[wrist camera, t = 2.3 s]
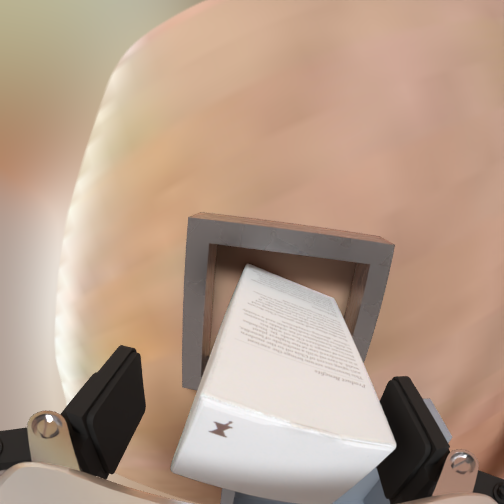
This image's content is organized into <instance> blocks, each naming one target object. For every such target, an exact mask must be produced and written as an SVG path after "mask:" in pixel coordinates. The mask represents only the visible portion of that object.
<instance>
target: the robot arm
mask: <svg viewBox="0 0 504 504" xmlns="http://www.w3.org/2000/svg"><path fill="white" fill-rule="evenodd" d="M380 404H381V406H382V409H383V411H384V414H385V416H386V418H387V421H388V424H389V426H390V429H391V431H392V434H393V436H394V439H395V442H396V449H395V450H394V451H393V452H392V453H390V454H389V455H388V456H387V457H386V458H385V459H384V460H383V461H382V462H381V463H380V464H378V465H377V466H376V468H377V471H378V475H379V478H380V481H381V485H382V488H383V492H384V495H385V498H386V499H389V501H390V504H504V480H503V479H500V478H498V477H495V476H492V475H490V474H487V473H484V472H482V471H479V470H478V469H479V463H478V460H477V458H476V457H475V455H474V454H472V453H471V452H469V451H467V450H463V449H457V450H454V451H452V452H451V453H450V451H449V447H450V446H449V444H448V442H447V440H446V438H445V437H444V435H443V433H442V431H441V430H440V428H439V426H438V424H437V423H436V421H435V419H434V417H433V416H432V414H431V412H430V411H429V409H428V407H427V406H426V404H425V402H424V401H423V399H422V397H421V396H420V394H419V392H418V391H417V389H416V387H415V386H414V384H413V383H412V381H411V379H410V378H409V377H408V376H400V377H394V378H393V379H392V380H390V381H389V382H388V384H387V386H386V388H385V391H384V393H383V395H382V397H381V400H380ZM145 408H146V404H145V396H144V387H143V378H142V368H141V357H140V354H139V353H137V352H136V349H135V348H131V347H127V346H123V345H120V346H119V347H118V348H117V350H116V351H115V352H114V353H113V354H112V356H111V357H110V358H109V359H108V360H107V362H106V363H105V364H104V365H103V366H102V368H101V369H100V370H99V371H98V372H97V373H94V374H93V375H92V376H91V377H90V378H89V380H88V381H87V382H86V383H85V384H84V386H83V387H82V388H81V389H80V391H79V392H78V393H77V394H76V395H75V397H74V398H73V399H72V400H71V402H70V403H69V404H68V405H67V407H66V408H65V409H64V411H63V412H62V413H61V414H58V413H56V412H53V411H41V412H37V413H36V414H34V415H33V416H32V417H31V418H30V419H29V421H28V424H27V428H21V429H13V430H6V431H0V504H193V503H188V502H183V501H178V500H174V499H169V498H165V497H161V496H157V495H154V494H150V493H146V492H142V491H139V490H136V489H132V488H129V487H126V486H123V485H120V484H117V483H114V482H111V481H108V480H105V479H107V477H108V475H109V473H110V474H113V473H114V472H115V471H116V468H117V466H118V464H119V462H120V460H121V458H122V456H123V454H124V452H125V450H126V448H127V446H128V444H129V442H130V440H131V438H132V436H133V434H134V432H135V430H136V428H137V426H138V424H139V422H140V420H141V418H142V416H143V414H144V412H145ZM96 476H98V477H96ZM99 477H100V478H99ZM102 478H103V479H102Z"/></svg>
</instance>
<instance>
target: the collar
mask: <svg viewBox="0 0 504 504" xmlns="http://www.w3.org/2000/svg"><path fill="white" fill-rule="evenodd" d="M217 244H219V245H227V246H235V247H243V248H250V249H258V250H266V251H273V252H281V253H289V254H296V255H304V256H312V257H319V258H327V259H334V260H342V261H349V262H357V263H356V268H355V272H354V277H353V282H352V287H351V291H350V296H349V300H348V304H347V309H346V313H345V317H344V321H345V323H346V325H347V327H348V329H349V332H350V334H351V336H352V338H353V341H354V343H355V345H356V347H357V350H358V352H359V354H360V357H361V359H362V361H363V363H364V361H365V358H366V355H367V352H368V349H369V345H370V342H371V339H372V336H373V332H374V329H375V326H376V322H377V319H378V315H379V311H380V308H381V304H382V300H383V296H384V292H385V288H386V284H387V280H388V275H389V271H390V267H391V262H392V257H393V252H394V247H395V245H394V244H392V243H391V242H389V241H387V240H385V239H383V238H382V237H379V236H373V235H367V234H360V233H354V232H347V231H341V230H334V229H327V228H320V227H313V226H306V225H299V224H291V223H284V222H276V221H268V220H260V219H252V218H244V217H236V216H227V215H219V214H210V213H201V212H200V213H198V214H195V215H193V216H190V217H188V228H187V242H186V258H185V277H184V300H183V340H182V387H184V388H188V389H193V390H198V388H199V385H200V382H201V379H202V376H203V374H204V371H205V368H206V365H207V363H208V360H209V357H210V356H209V350H210V334H211V319H212V305H213V292H214V279H215V267H216V255H217Z"/></svg>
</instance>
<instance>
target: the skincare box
mask: <svg viewBox="0 0 504 504" xmlns="http://www.w3.org/2000/svg"><path fill="white" fill-rule="evenodd" d="M395 449H396V442H395V439H394V436H393V434H392V431H391V429H390V426H389V424H388V421H387V418H386V416H385V414H384V411H383V409H382V406H381V404H380V402H379V399H378V397H377V394H376V392H375V389H374V387H373V385H372V382H371V380H370V378H369V375H368V373H367V370H366V368H365V366H364V363H363V361H362V359H361V357H360V354H359V352H358V350H357V347H356V345H355V343H354V341H353V338H352V336H351V334H350V332H349V329H348V327H347V325H346V323H345V321H344V318H343V316H342V314H341V312H340V310H339V308H338V305H337V303H336V301H335V299H334V298H332V297H330V296H327V295H325V294H322V293H320V292H317V291H315V290H312V289H310V288H307V287H305V286H302V285H300V284H298V283H295V282H293V281H290V280H288V279H285V278H283V277H280V276H278V275H275V274H273V273H270V272H268V271H265V270H263V269H261V268H258V267H256V266H253V265H251V264H248V263H247V264H246V266H245V268H244V270H243V273H242V275H241V277H240V279H239V282H238V284H237V286H236V289H235V291H234V293H233V296H232V298H231V301H230V303H229V306H228V308H227V311H226V313H225V316H224V319H223V321H222V324H221V327H220V329H219V332H218V335H217V337H216V340H215V343H214V346H213V349H212V351H211V354H210V357H209V360H208V363H207V365H206V368H205V371H204V374H203V376H202V379H201V382H200V385H199V388H198V390H197V393H196V396H195V399H194V401H193V404H192V407H191V410H190V413H189V415H188V418H187V421H186V424H185V427H184V430H183V433H182V435H181V438H180V441H179V443H178V446H177V449H176V452H175V454H174V457H173V460H172V463H171V472H173V473H175V474H178V475H181V476H184V477H187V478H190V479H193V480H196V481H200V482H203V483H206V484H210V485H214V486H217V487H221V488H224V489H228V490H232V491H236V492H240V493H244V494H248V495H252V496H257V497H261V498H266V499H272V500H278V501H284V502H290V503H297V504H332V503H333V502H334V501H336V500H337V499H338V498H340V497H341V496H342V495H343V494H345V493H346V492H347V491H348V490H350V489H351V488H352V487H353V486H354V485H356V484H357V483H358V482H359V481H360V480H362V479H363V478H364V477H365V476H366V475H367V474H368V473H370V472H371V471H372V470H373V469H374V468H375V467H376V466H377V465H378V464H380V463H381V462H382V461H383V460H384V459H385V458H386V457H387V456H388V455H389V454H390V453H392V452H393V451H394V450H395Z"/></svg>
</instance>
